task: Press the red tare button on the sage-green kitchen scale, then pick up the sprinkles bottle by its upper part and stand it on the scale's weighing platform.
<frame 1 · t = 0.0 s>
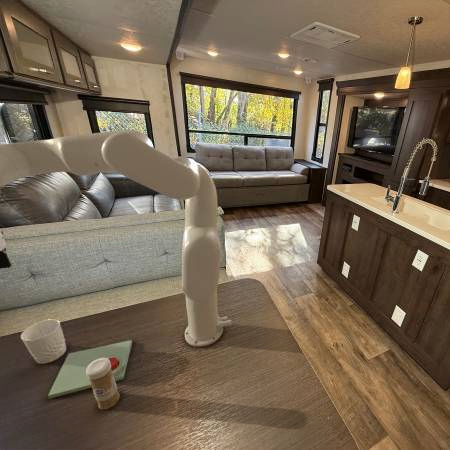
tare button: (110, 364, 69), point 3 cm above the table, slide at 0.1 cm
sprinkles bottle: (109, 401, 64), on the table
white cup: (51, 354, 74), on the table
scale: (95, 367, 72), on the table
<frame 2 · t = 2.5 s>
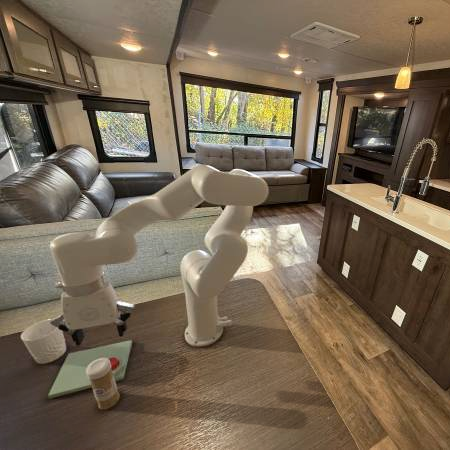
hand: (102, 336, 65), 14 cm above the table, tool pointing down, fingers open, 8 cm apart
nothing on the table moved.
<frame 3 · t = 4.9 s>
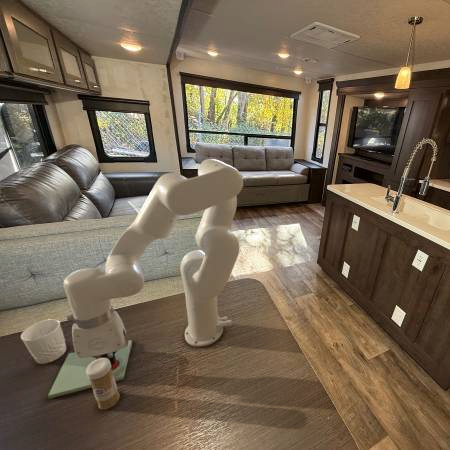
hand: (109, 365, 69), 3 cm above the table, tool pointing down, fingers closed
tare button: (111, 366, 70), point 3 cm above the table, slide at -0.9 cm, touching gripper
everything else where it was.
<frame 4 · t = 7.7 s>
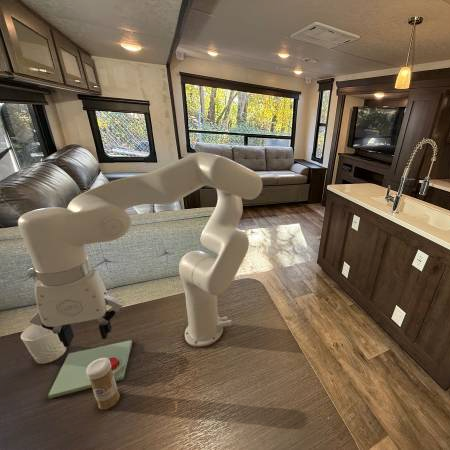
hand: (88, 337, 55), 23 cm above the table, tool pointing down, fingers open, 6 cm apart
tare button: (110, 364, 69), point 3 cm above the table, slide at 0.1 cm
everything else where it was.
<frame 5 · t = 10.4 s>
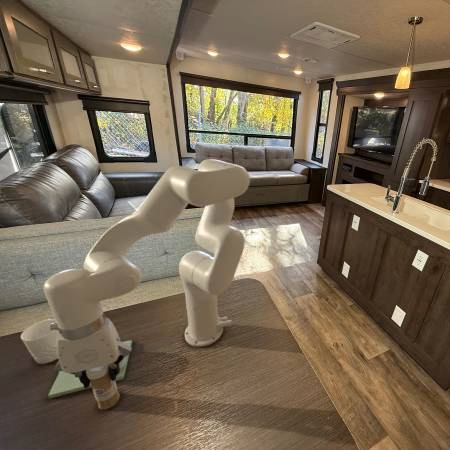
hand: (102, 378, 61), 9 cm above the table, tool pointing down, fingers closed on sprinkles bottle, 4 cm apart
sprinkles bottle: (109, 401, 64), on the table, touching gripper
everything else where it was.
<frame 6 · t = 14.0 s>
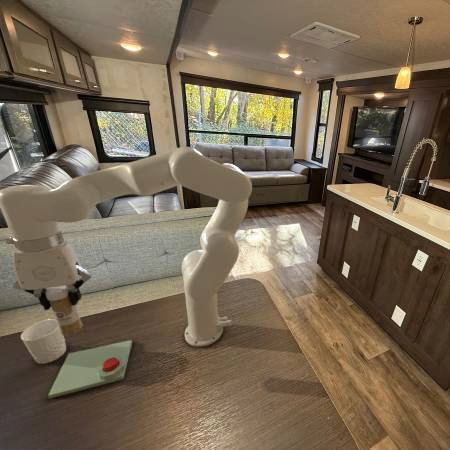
hand: (63, 303, 63), 23 cm above the table, tool pointing down, fingers closed on sprinkles bottle, 4 cm apart
sprinkles bottle: (72, 329, 66), point 14 cm above the table, touching gripper
everything else where it was.
when the fingers open (10 cm above the table, at t = 17.5 s): sprinkles bottle stays where it is, resting on scale.
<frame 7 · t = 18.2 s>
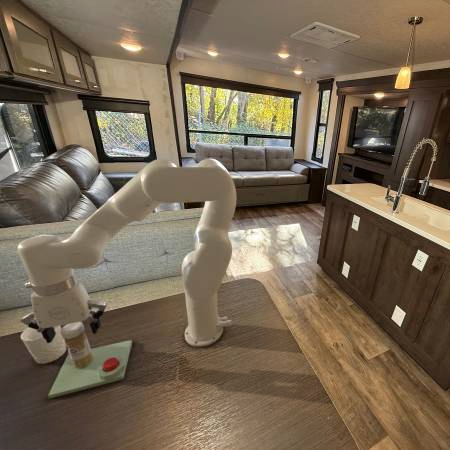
hand: (74, 334, 68), 12 cm above the table, tool pointing down, fingers open, 9 cm apart
sprinkles bottle: (84, 362, 72), point 1 cm above the table, touching scale
everything else where it was.
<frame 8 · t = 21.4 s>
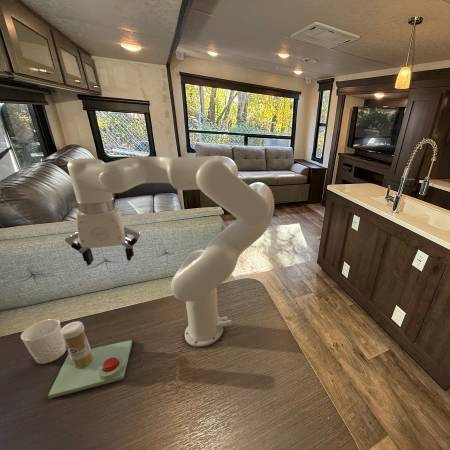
hand: (110, 260, 73), 28 cm above the table, tool pointing down, fingers open, 9 cm apart
nothing on the table moved.
at the end: tare button pushed in 1.1 cm at the most during the clip, back to where it started at the end; sprinkles bottle inside the target area on the scale (3.6 cm from its centre), point 1.0 cm above the scale's base; sprinkles bottle tilted 0° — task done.
